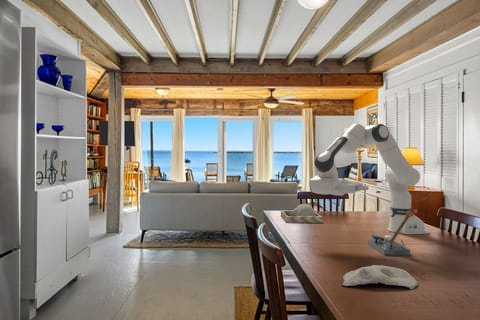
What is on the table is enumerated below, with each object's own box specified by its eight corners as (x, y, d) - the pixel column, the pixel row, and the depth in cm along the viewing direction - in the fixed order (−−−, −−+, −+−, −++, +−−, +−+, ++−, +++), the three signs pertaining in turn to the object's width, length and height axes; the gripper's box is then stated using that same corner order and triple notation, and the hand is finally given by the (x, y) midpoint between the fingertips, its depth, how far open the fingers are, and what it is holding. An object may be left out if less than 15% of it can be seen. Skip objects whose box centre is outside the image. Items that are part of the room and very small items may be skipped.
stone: (407, 266, 139) (426, 281, 124) (404, 284, 139) (422, 301, 124) (336, 255, 140) (346, 268, 125) (333, 273, 140) (342, 289, 125)
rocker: (381, 239, 184) (381, 236, 184) (383, 241, 180) (384, 238, 180) (371, 237, 183) (372, 234, 183) (374, 238, 180) (374, 236, 180)
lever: (384, 244, 171) (407, 209, 166) (386, 242, 175) (408, 208, 169) (390, 248, 170) (414, 213, 164) (392, 246, 173) (415, 212, 168)
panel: (391, 244, 186) (391, 234, 186) (410, 255, 166) (410, 244, 166) (367, 244, 186) (368, 234, 186) (384, 255, 166) (384, 244, 166)
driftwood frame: (313, 216, 266) (313, 210, 266) (322, 222, 241) (322, 216, 241) (280, 215, 265) (280, 210, 265) (285, 222, 241) (285, 216, 241)
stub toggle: (402, 248, 167) (399, 240, 168) (403, 247, 169) (400, 239, 170) (405, 248, 167) (402, 239, 167) (406, 247, 169) (403, 238, 169)
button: (389, 240, 183) (390, 235, 183) (392, 241, 180) (392, 237, 180) (383, 240, 183) (383, 235, 183) (386, 241, 180) (386, 236, 180)
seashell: (303, 226, 262) (290, 209, 263) (319, 216, 260) (306, 198, 261) (302, 230, 247) (289, 212, 249) (319, 219, 245) (306, 201, 247)
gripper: (334, 182, 177) (363, 183, 170) (345, 179, 194) (372, 180, 187) (333, 195, 177) (362, 196, 170) (345, 191, 194) (372, 192, 187)
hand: (367, 188), depth 179 cm, fingers closed
